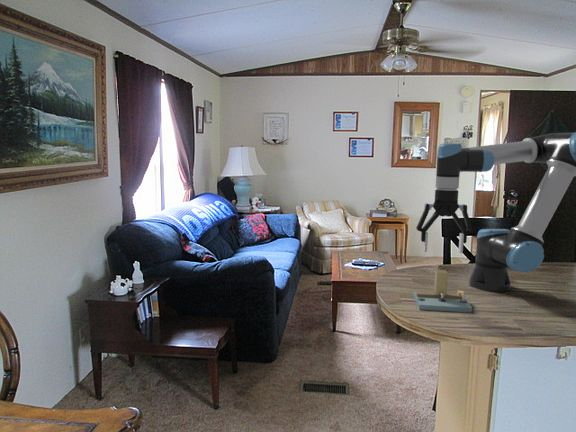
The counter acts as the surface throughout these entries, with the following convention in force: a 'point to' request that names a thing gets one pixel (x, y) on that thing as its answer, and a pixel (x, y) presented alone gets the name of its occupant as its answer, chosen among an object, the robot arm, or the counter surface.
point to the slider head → (440, 283)
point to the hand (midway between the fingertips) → (442, 251)
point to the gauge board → (442, 302)
